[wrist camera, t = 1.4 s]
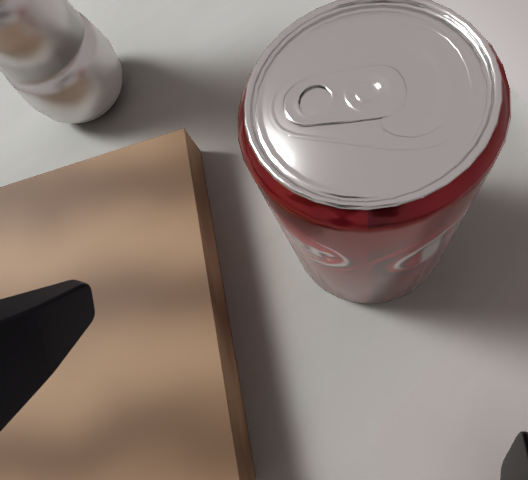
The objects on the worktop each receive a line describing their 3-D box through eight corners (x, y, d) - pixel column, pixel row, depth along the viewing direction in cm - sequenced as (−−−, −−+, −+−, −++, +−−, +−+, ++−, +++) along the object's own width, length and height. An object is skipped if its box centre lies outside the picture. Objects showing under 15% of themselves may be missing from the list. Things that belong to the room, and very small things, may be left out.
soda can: (435, 168, 23) (500, -39, 12) (447, 306, 20) (541, 216, 9) (298, 176, 24) (239, 3, 13) (295, 305, 22) (221, 227, 11)
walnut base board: (255, 478, 20) (241, 490, 18) (-71, 539, 23) (-122, 557, 20) (200, 150, 26) (183, 128, 24) (-51, 228, 29) (-87, 215, 27)
